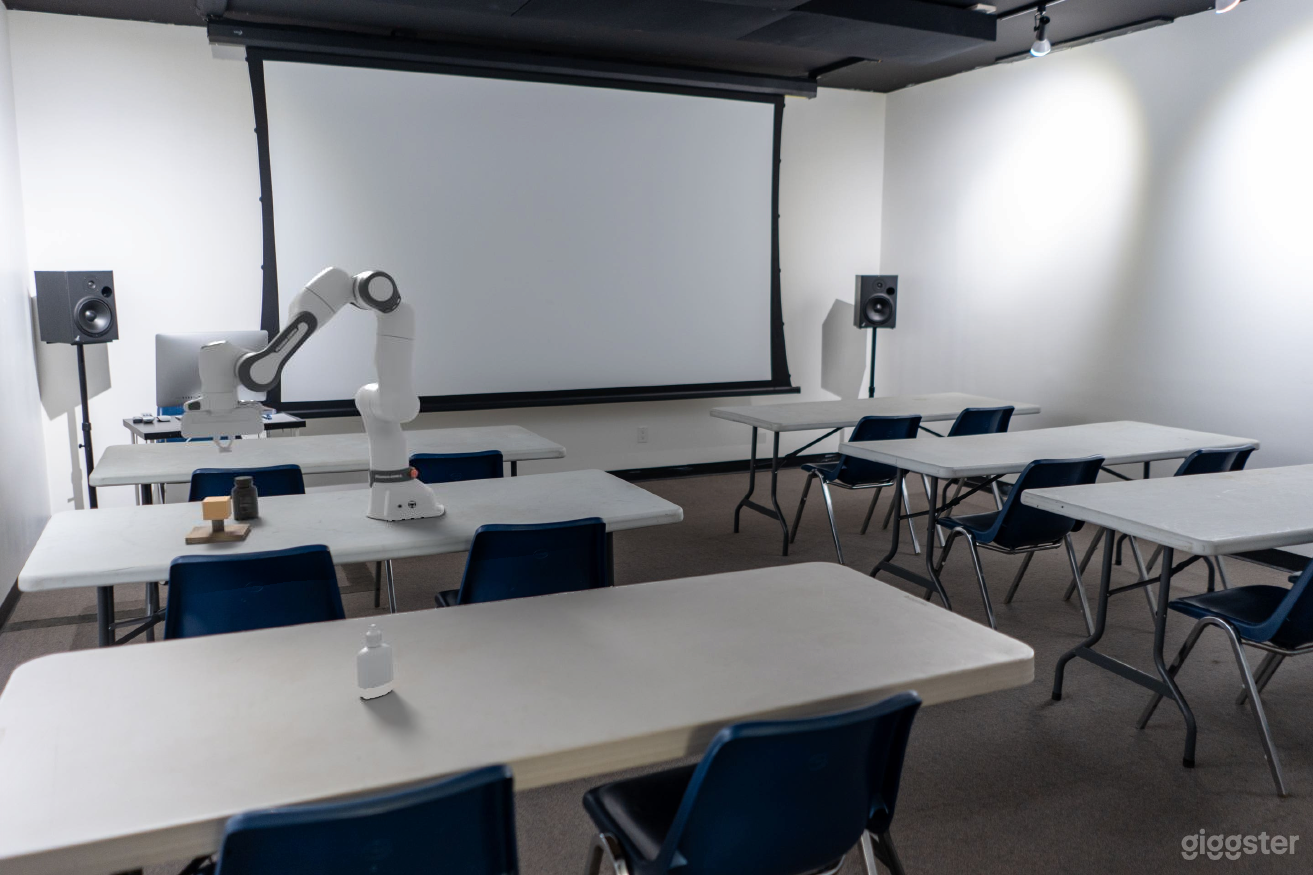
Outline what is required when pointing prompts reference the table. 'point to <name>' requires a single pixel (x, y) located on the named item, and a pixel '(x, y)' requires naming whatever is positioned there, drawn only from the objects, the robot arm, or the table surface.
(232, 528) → the post board
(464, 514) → the table surface
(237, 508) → the supplement bottle
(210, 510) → the peach wooden cube
